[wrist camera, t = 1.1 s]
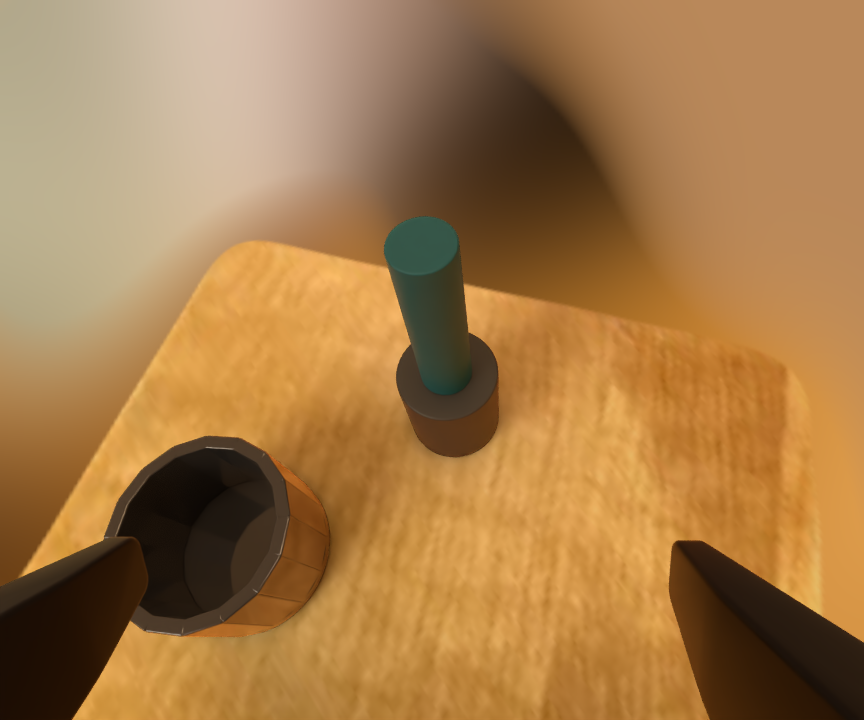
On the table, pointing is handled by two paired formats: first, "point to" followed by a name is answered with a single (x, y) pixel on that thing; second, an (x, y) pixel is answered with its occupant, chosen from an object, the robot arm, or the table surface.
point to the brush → (440, 342)
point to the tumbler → (222, 539)
